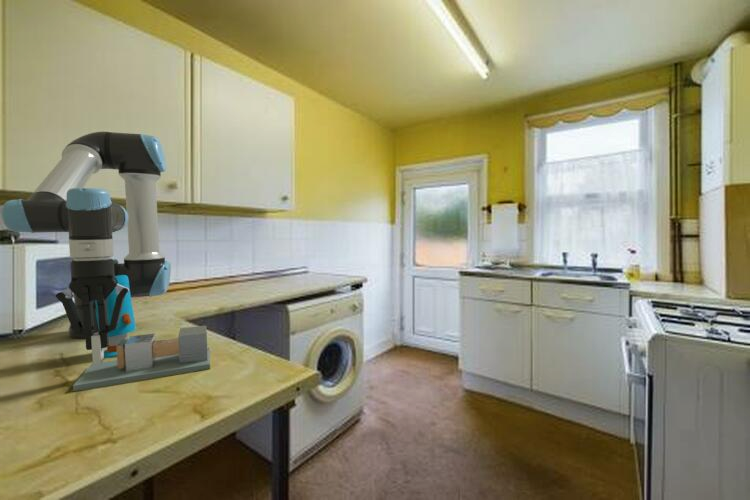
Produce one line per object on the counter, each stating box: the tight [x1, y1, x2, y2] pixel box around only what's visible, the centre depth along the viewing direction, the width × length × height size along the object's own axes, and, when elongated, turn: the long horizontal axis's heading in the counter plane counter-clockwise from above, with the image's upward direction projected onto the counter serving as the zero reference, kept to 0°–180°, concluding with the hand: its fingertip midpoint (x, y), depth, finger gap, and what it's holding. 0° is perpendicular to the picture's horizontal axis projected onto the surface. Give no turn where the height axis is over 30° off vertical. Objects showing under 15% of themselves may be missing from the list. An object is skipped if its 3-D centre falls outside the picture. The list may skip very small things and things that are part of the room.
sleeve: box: [125, 333, 156, 372], centre depth 82 cm, size 7×5×6 cm
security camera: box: [94, 275, 137, 358], centre depth 93 cm, size 8×21×10 cm
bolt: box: [116, 337, 179, 369], centre depth 83 cm, size 5×15×5 cm, turn 116°
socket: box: [177, 325, 208, 365], centre depth 86 cm, size 8×6×7 cm
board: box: [72, 346, 211, 392], centre depth 83 cm, size 13×26×1 cm, turn 116°
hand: (98, 362), depth 78 cm, fingers closed
